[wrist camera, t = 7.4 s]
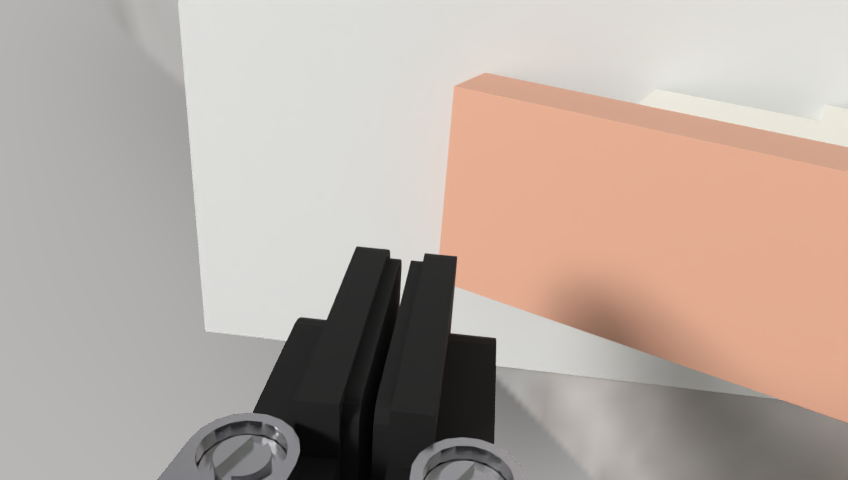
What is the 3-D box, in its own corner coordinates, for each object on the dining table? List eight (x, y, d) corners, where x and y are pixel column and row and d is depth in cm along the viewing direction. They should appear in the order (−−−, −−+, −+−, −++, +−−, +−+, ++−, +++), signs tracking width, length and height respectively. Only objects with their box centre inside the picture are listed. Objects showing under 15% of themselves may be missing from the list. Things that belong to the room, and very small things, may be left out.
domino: (485, 72, 17) (979, 174, 13) (465, 255, 20) (881, 391, 16) (454, 85, 16) (989, 202, 12) (436, 279, 18) (881, 435, 14)
